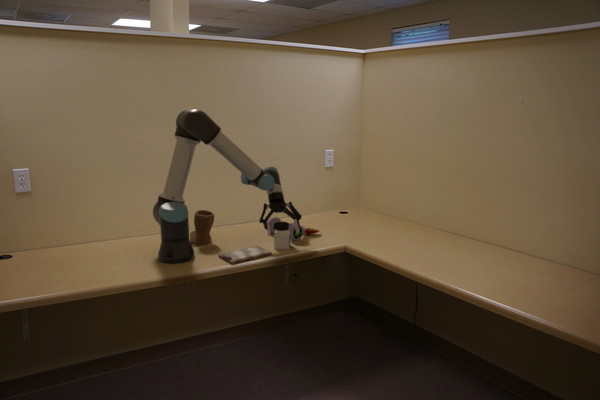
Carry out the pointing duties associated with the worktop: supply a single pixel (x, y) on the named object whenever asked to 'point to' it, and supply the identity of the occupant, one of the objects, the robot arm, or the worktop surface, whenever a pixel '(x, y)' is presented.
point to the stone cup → (202, 226)
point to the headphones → (292, 229)
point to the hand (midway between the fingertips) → (283, 233)
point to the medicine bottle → (282, 236)
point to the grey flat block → (244, 254)
